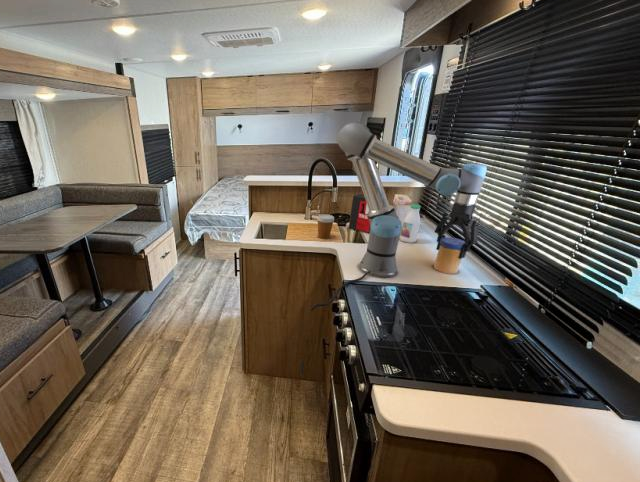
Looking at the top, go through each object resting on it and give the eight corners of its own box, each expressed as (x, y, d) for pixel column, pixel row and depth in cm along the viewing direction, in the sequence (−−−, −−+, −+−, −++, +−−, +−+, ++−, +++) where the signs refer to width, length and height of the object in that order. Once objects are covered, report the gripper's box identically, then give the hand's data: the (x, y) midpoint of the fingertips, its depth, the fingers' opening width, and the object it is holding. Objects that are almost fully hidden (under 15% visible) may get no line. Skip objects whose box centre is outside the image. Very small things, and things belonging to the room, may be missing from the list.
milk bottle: (412, 238, 172) (420, 203, 164) (418, 243, 165) (427, 207, 157) (397, 237, 173) (405, 203, 164) (403, 242, 166) (411, 207, 157)
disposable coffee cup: (325, 241, 168) (328, 220, 163) (311, 236, 175) (313, 216, 170) (335, 237, 174) (338, 216, 169) (321, 232, 181) (323, 213, 176)
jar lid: (449, 240, 138) (450, 236, 137) (470, 247, 130) (472, 243, 129) (434, 243, 135) (435, 239, 134) (456, 250, 127) (457, 246, 126)
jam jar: (451, 275, 131) (459, 248, 126) (429, 267, 138) (437, 241, 133) (461, 270, 135) (469, 244, 130) (440, 263, 142) (447, 237, 137)
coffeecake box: (388, 224, 194) (394, 194, 186) (400, 225, 192) (407, 194, 184) (391, 232, 181) (398, 199, 173) (405, 233, 179) (412, 200, 171)
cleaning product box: (348, 228, 187) (353, 196, 179) (355, 225, 193) (360, 193, 185) (375, 235, 177) (381, 201, 169) (381, 231, 182) (388, 198, 174)
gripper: (500, 208, 117) (482, 261, 126) (444, 196, 135) (432, 243, 144) (488, 211, 114) (470, 265, 123) (433, 198, 133) (421, 246, 142)
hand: (449, 253), depth 134 cm, fingers closed on jar lid, 9 cm apart
